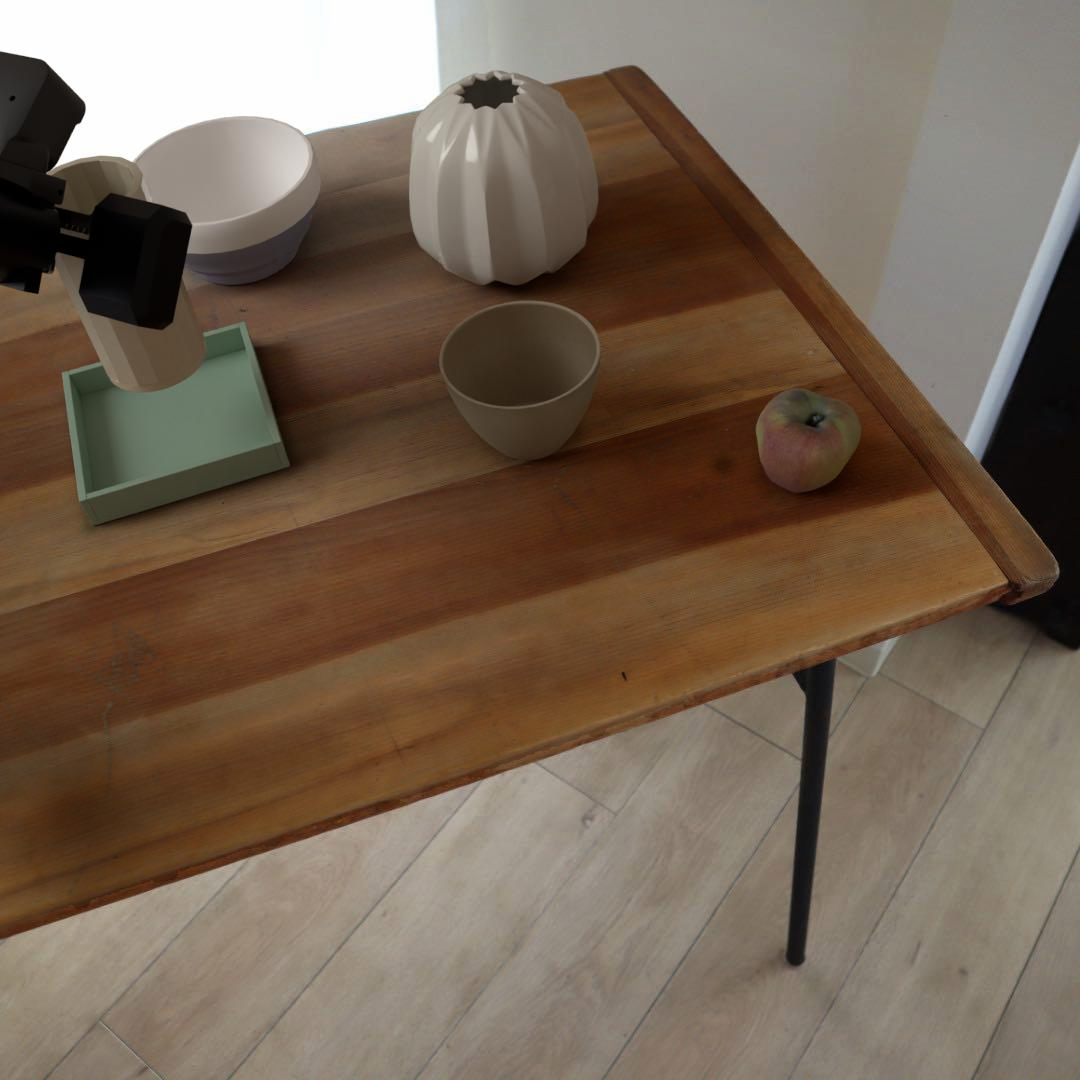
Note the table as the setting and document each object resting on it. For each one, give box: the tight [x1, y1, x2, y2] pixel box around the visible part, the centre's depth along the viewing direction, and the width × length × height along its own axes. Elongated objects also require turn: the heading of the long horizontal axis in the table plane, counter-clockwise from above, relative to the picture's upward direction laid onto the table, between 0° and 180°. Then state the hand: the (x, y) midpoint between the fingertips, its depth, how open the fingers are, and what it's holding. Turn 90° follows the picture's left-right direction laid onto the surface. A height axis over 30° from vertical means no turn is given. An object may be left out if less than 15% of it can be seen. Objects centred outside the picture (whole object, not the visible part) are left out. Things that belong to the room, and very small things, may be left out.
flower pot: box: [438, 300, 602, 461], centre depth 75 cm, size 10×10×7 cm
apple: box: [755, 387, 862, 494], centre depth 72 cm, size 6×8×6 cm
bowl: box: [132, 115, 322, 286], centre depth 90 cm, size 14×14×8 cm
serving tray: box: [61, 320, 291, 527], centre depth 80 cm, size 13×13×2 cm
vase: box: [408, 69, 599, 287], centre depth 85 cm, size 14×14×13 cm
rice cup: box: [46, 155, 207, 393], centre depth 70 cm, size 6×6×12 cm
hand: (135, 260), depth 71 cm, fingers closed on rice cup, 6 cm apart
